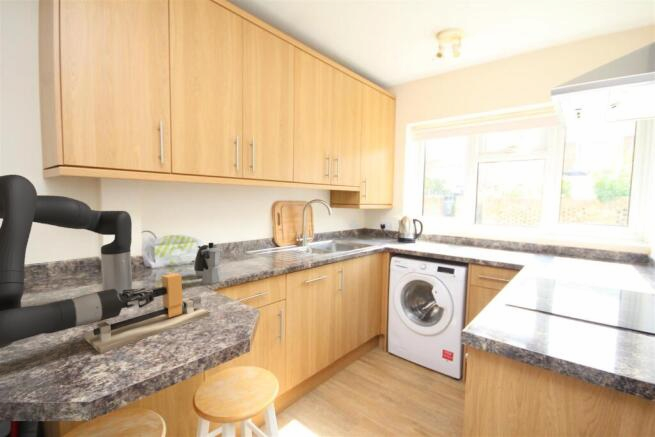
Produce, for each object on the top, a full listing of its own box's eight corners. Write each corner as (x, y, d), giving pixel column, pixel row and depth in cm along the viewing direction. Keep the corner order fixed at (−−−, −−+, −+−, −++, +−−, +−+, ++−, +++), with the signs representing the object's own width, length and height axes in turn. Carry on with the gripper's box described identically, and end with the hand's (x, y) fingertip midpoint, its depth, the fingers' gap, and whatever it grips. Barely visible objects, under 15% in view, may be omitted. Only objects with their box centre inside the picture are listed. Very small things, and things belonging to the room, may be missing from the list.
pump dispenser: (209, 272, 151) (208, 242, 150) (221, 275, 145) (220, 244, 144) (189, 276, 143) (188, 245, 142) (201, 279, 137) (200, 247, 136)
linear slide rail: (85, 339, 79) (84, 321, 78) (190, 307, 102) (189, 293, 102) (100, 353, 72) (99, 333, 71) (209, 315, 95) (209, 300, 94)
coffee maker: (208, 278, 140) (207, 240, 139) (227, 278, 140) (226, 240, 138) (193, 287, 125) (192, 245, 124) (213, 287, 125) (212, 245, 123)
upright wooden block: (163, 314, 91) (161, 275, 90) (176, 310, 94) (175, 272, 93) (169, 317, 88) (168, 277, 88) (182, 313, 92) (181, 274, 91)
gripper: (103, 298, 71) (175, 281, 85) (86, 288, 79) (155, 274, 93) (104, 328, 72) (176, 307, 85) (88, 315, 80) (156, 298, 93)
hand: (165, 290), depth 89 cm, fingers closed
